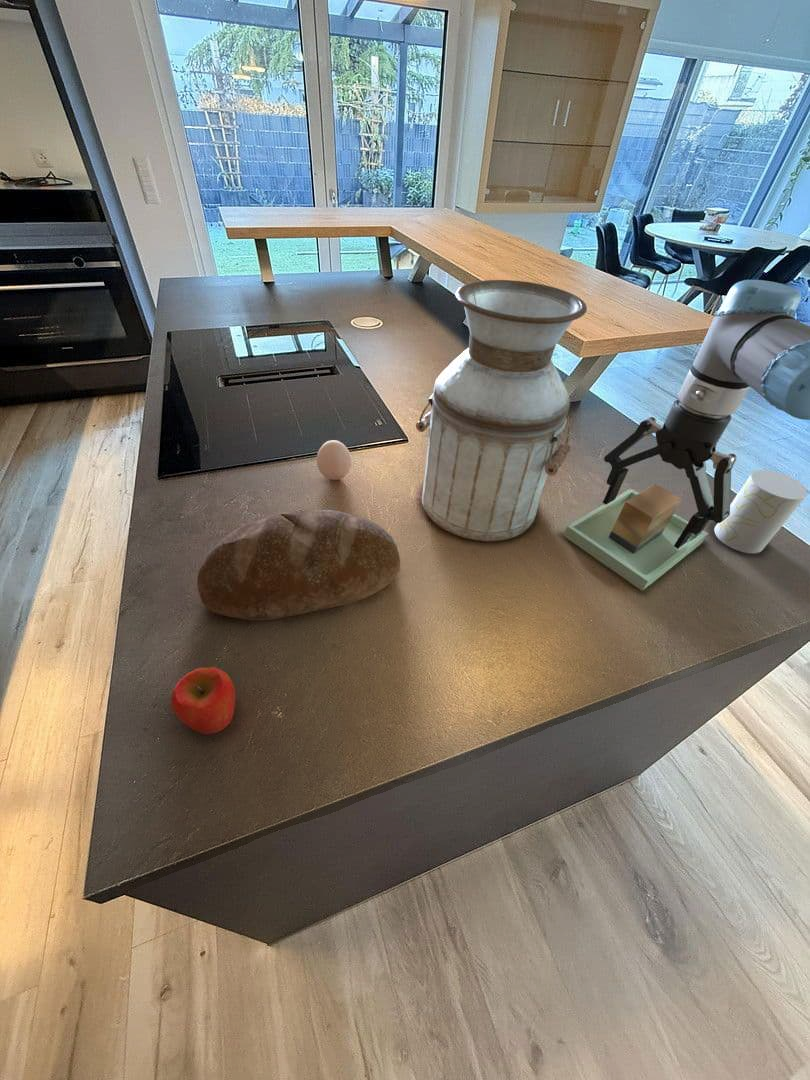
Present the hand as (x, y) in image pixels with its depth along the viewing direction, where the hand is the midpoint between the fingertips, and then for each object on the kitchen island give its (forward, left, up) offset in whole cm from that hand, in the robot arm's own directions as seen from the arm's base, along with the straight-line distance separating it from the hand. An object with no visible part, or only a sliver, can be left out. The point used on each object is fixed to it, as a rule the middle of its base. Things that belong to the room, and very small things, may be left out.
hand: (642, 521), depth 79 cm
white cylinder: (-11, -17, -4) cm, 21 cm away
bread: (+24, +52, -4) cm, 57 cm away
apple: (+11, +71, -4) cm, 72 cm away
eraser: (0, 0, -3) cm, 3 cm away
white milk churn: (+23, +16, -4) cm, 28 cm away
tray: (0, 0, -4) cm, 4 cm away
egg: (+45, +34, -4) cm, 57 cm away
